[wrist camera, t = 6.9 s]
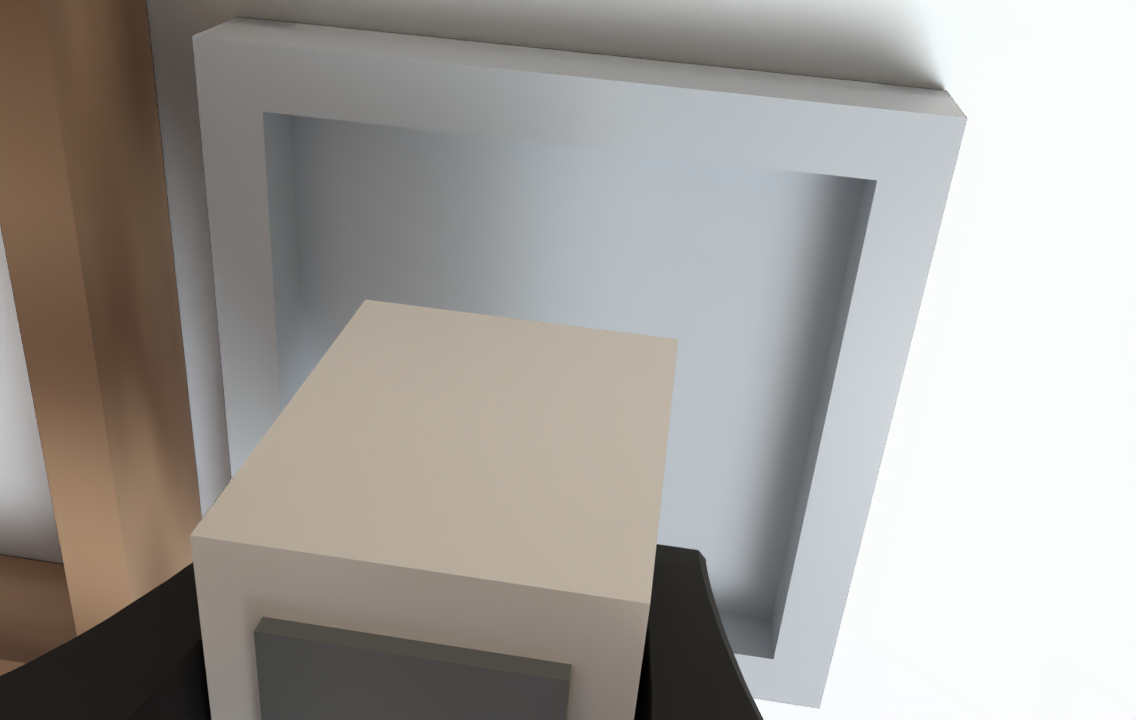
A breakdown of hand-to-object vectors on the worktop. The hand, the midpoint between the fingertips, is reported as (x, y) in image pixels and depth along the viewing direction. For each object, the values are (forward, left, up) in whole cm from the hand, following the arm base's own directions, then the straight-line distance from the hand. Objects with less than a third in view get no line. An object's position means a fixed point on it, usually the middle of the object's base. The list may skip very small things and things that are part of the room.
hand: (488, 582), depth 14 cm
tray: (0, 0, -6) cm, 6 cm away
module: (0, 0, -1) cm, 1 cm away
